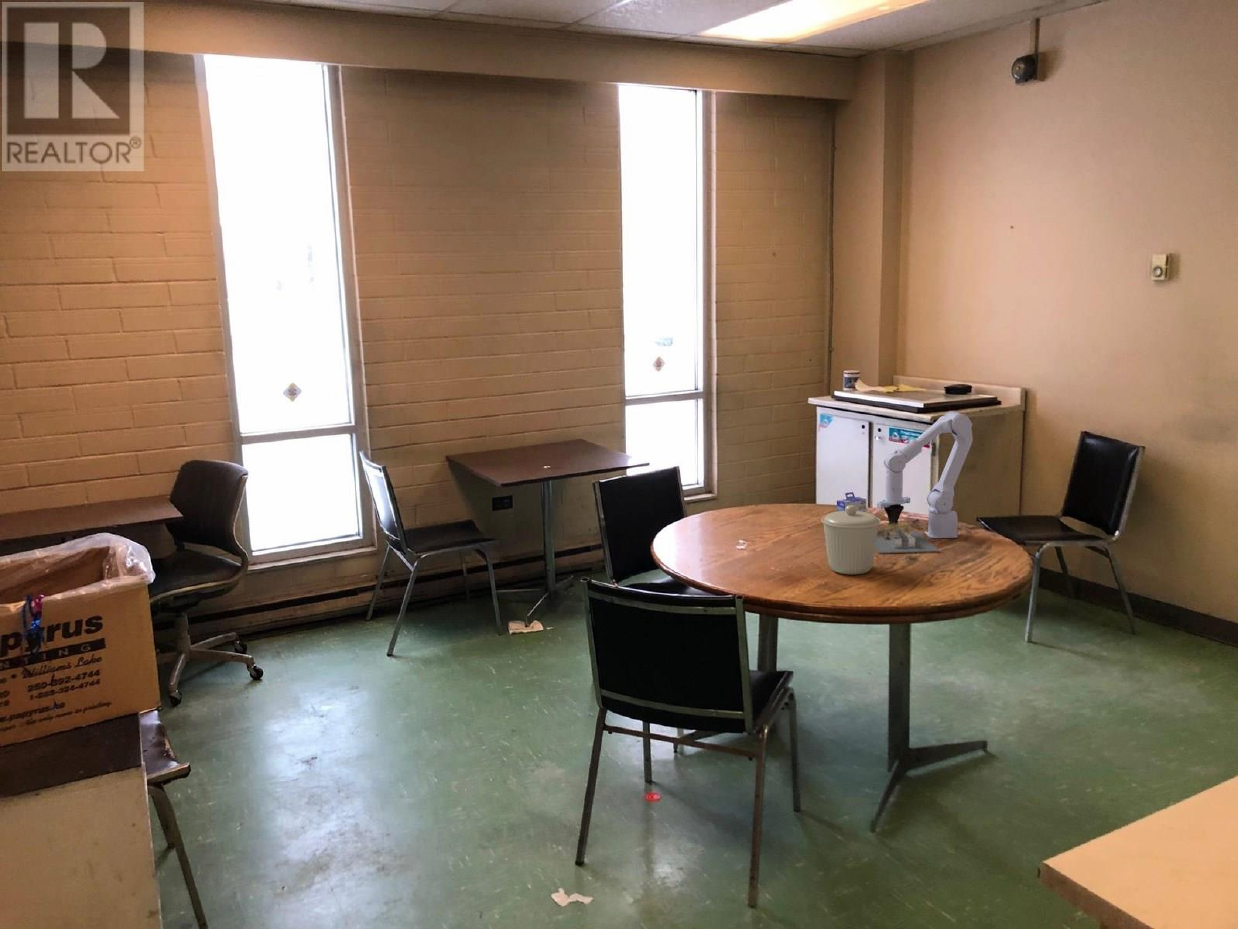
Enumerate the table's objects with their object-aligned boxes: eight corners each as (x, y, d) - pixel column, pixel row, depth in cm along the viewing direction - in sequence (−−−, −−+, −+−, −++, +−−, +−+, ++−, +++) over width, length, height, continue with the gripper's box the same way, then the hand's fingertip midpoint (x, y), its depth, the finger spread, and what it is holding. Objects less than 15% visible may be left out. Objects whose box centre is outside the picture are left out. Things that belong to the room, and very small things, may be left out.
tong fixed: (902, 534, 344) (902, 526, 344) (915, 547, 328) (915, 538, 328) (896, 535, 344) (896, 526, 344) (908, 547, 328) (908, 539, 328)
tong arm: (890, 535, 344) (891, 527, 344) (901, 547, 328) (901, 539, 328) (884, 535, 345) (884, 527, 344) (894, 548, 328) (895, 539, 328)
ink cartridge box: (857, 528, 358) (857, 490, 355) (867, 532, 353) (867, 492, 350) (835, 532, 353) (836, 493, 351) (845, 535, 349) (845, 496, 346)
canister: (823, 578, 301) (823, 512, 297) (819, 561, 318) (819, 499, 314) (883, 579, 298) (884, 512, 294) (876, 562, 316) (877, 498, 312)
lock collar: (906, 536, 342) (906, 522, 341) (908, 538, 339) (909, 524, 338) (882, 537, 343) (882, 522, 342) (884, 539, 340) (884, 525, 339)
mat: (917, 532, 349) (917, 530, 349) (939, 552, 324) (939, 550, 324) (861, 534, 350) (861, 532, 350) (878, 554, 324) (879, 552, 324)
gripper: (887, 492, 334) (887, 531, 336) (917, 486, 341) (916, 524, 344) (872, 489, 340) (872, 527, 342) (902, 483, 347) (901, 520, 350)
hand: (893, 525), depth 343 cm, fingers closed
